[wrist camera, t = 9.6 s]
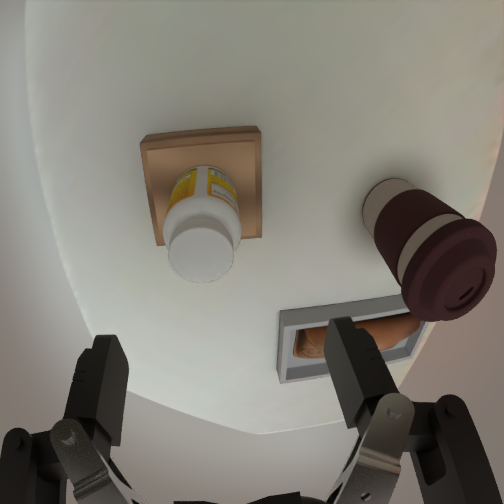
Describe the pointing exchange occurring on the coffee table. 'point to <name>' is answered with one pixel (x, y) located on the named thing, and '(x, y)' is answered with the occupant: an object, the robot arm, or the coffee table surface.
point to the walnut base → (205, 154)
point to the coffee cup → (430, 250)
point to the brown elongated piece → (382, 328)
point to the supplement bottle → (202, 225)
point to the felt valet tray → (320, 316)
